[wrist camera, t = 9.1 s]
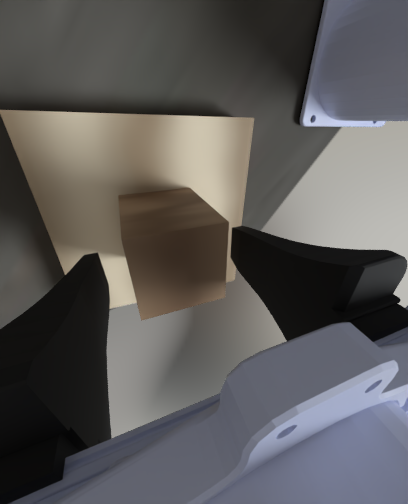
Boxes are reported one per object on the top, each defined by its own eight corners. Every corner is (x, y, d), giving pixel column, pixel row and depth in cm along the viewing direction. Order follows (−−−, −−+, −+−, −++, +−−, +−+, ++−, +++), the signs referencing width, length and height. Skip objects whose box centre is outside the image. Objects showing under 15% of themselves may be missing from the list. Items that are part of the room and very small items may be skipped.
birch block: (232, 118, 16) (254, 117, 13) (221, 263, 22) (234, 280, 20) (21, 111, 12) (-2, 109, 9) (85, 290, 19) (81, 315, 16)
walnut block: (189, 187, 14) (229, 222, 9) (192, 245, 16) (225, 297, 12) (118, 195, 13) (121, 239, 8) (132, 257, 15) (141, 320, 10)
